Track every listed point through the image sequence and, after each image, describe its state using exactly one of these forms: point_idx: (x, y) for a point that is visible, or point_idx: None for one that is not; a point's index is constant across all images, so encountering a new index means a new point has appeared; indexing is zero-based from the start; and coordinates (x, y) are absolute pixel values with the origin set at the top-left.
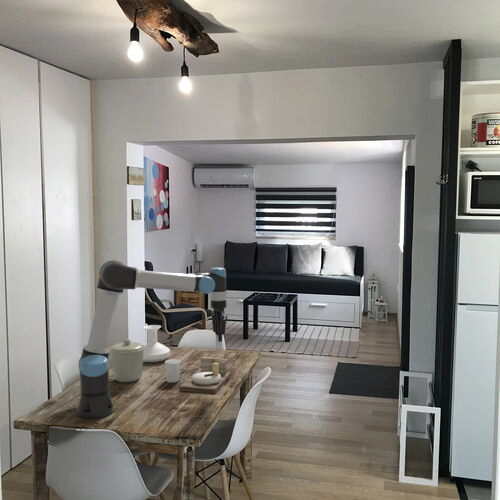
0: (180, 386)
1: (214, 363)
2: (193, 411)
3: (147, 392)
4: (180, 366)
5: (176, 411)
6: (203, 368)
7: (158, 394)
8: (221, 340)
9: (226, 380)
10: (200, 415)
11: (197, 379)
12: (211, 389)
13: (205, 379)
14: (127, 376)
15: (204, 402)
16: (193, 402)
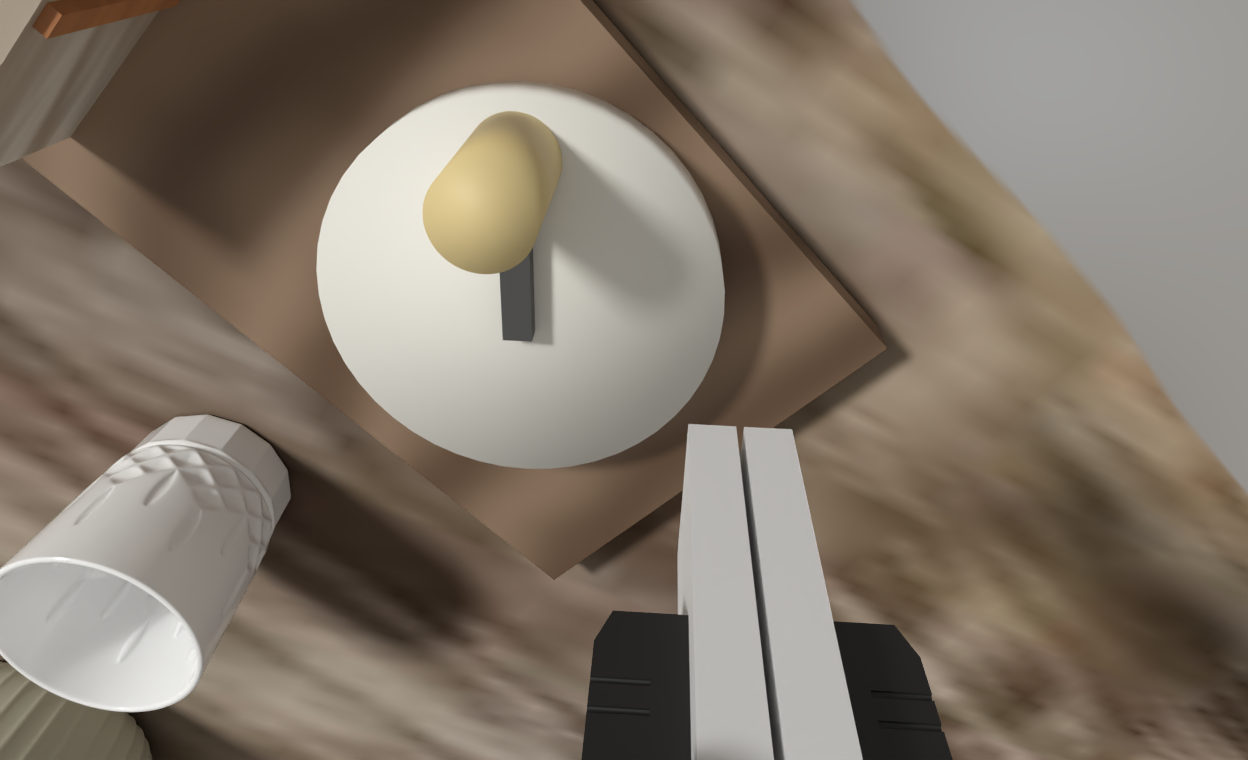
0: (561, 572)
1: (460, 229)
2: (1111, 664)
3: (460, 730)
4: (161, 523)
5: (1001, 739)
6: (64, 117)
7: (555, 696)
8: (911, 684)
9: None
10: (1230, 663)
11: (585, 452)
12: (845, 373)
13: (644, 380)
14: None
15: (1013, 521)
16: (934, 586)
